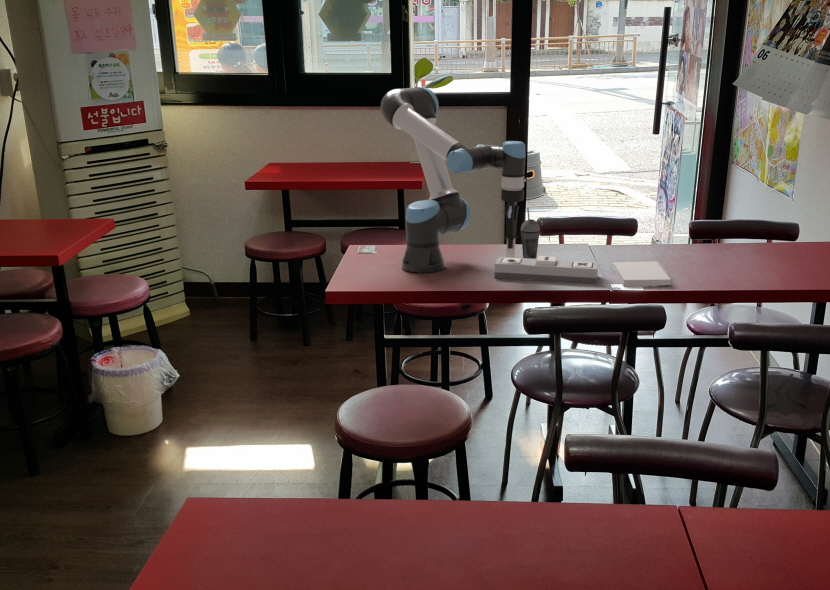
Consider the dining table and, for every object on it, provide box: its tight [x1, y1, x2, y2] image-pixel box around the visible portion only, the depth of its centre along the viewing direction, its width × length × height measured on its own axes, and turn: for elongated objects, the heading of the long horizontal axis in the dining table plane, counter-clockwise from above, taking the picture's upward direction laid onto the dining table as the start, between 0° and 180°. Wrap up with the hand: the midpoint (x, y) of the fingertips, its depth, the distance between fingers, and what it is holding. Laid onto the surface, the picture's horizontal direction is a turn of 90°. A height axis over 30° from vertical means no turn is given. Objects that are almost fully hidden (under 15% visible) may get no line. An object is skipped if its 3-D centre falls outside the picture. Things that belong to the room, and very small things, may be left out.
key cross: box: [573, 261, 592, 268], centre depth 272 cm, size 6×6×3 cm
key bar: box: [536, 255, 557, 266], centre depth 274 cm, size 6×6×3 cm
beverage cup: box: [519, 207, 542, 259], centre depth 292 cm, size 7×7×20 cm
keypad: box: [493, 256, 599, 284], centre depth 275 cm, size 34×9×5 cm, turn 75°
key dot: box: [501, 257, 521, 264], centre depth 278 cm, size 6×6×3 cm
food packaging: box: [612, 261, 672, 288], centre depth 273 cm, size 15×3×20 cm
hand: (510, 256), depth 277 cm, fingers closed
